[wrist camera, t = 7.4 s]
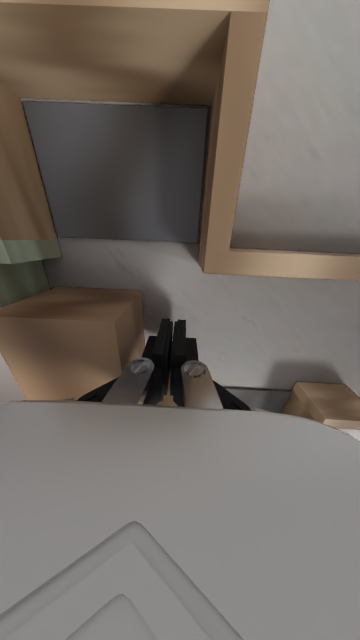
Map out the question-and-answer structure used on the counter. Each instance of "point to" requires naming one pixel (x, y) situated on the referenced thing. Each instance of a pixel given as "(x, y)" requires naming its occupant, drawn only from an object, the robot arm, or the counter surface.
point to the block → (71, 339)
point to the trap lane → (140, 148)
